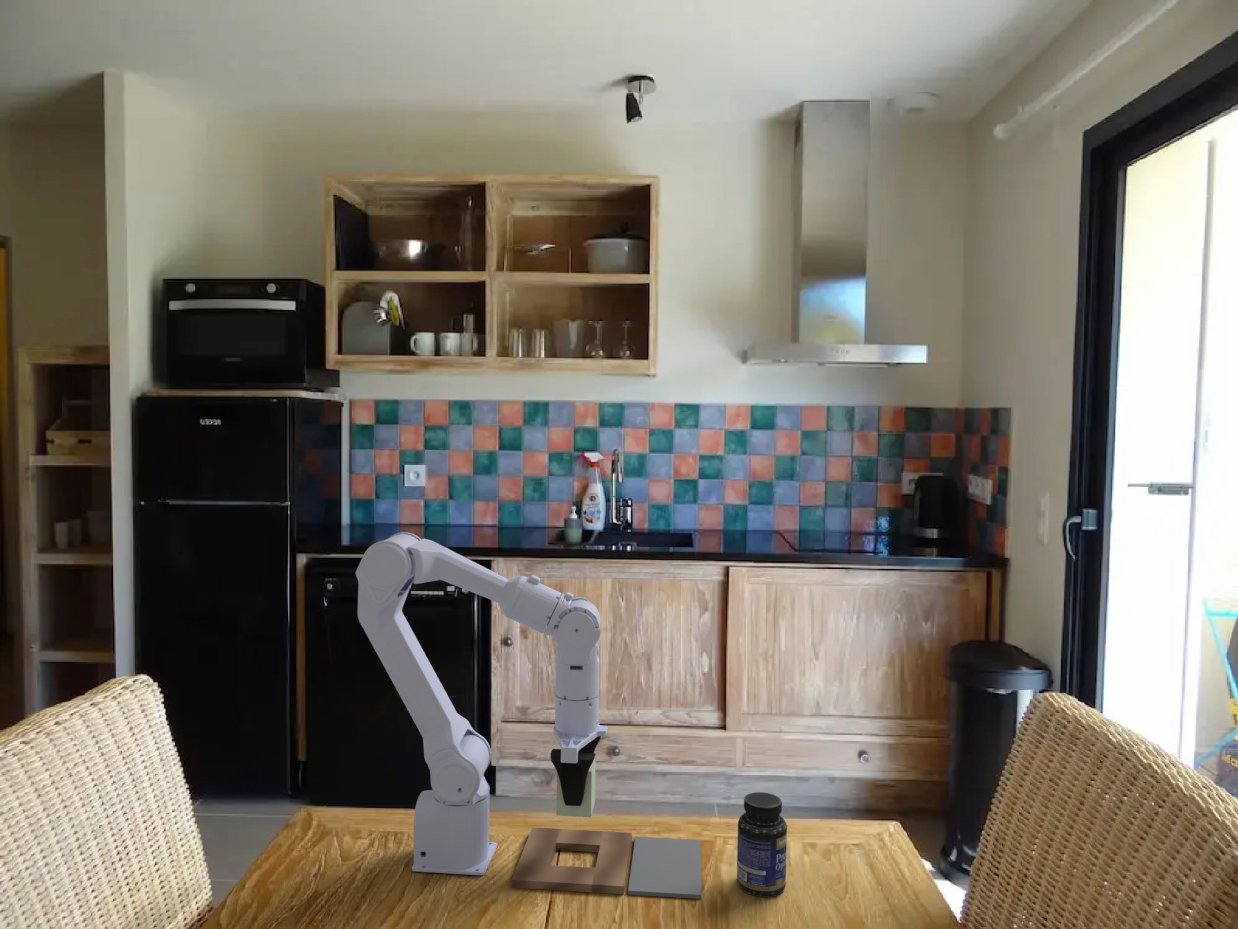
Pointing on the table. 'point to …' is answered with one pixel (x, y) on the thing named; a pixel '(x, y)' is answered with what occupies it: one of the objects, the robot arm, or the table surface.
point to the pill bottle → (762, 846)
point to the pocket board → (543, 875)
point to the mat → (666, 868)
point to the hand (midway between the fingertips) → (575, 796)
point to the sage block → (587, 801)
